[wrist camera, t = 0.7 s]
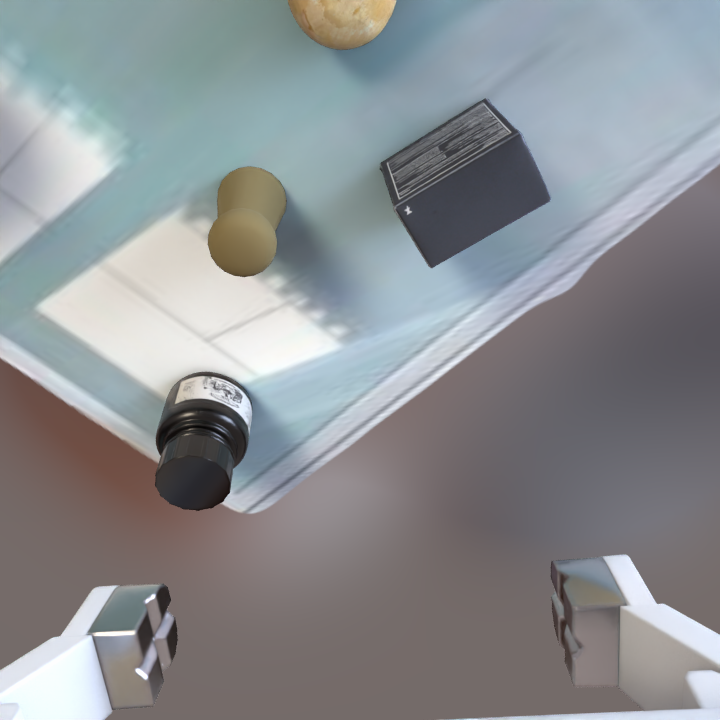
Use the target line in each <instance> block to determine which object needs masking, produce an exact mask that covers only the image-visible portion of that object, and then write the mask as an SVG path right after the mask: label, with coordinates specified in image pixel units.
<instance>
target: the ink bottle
mask: <svg viewBox="0 0 720 720" xmlns="http://www.w3.org/2000/svg"><path fill="white" fill-rule="evenodd" d="M251 419H252V402H251V399H250V397H249V395H248V393H247V392H246V390H245V389H244V388H243V387H242V386H241V385H240V384H238V383H237V382H236V381H234V380H233V379H231V378H229V377H227V376H224V375H221V374H218V373H213V372H198V373H194V374H191V375H188V376H186V377H184V378H182V379H181V380H180V381H178V382H177V383H176V384H175V385H174V386H173V387H172V389H171V390H170V392H169V394H168V397H167V400H166V403H165V406H164V409H163V413H162V416H161V419H160V422H159V425H158V429H157V433H156V446H157V449H158V452H159V454H160V456H161V457H160V461H159V464H158V468H157V471H156V475H155V476H156V482H155V486H156V487H157V489H158V491H159V493H160V496H161V497H163V498H164V499H165V500H167V501H168V502H169V503H170V504H172V505H175V506H177V507H180V508H182V509H189V510H197V511H199V510H203V509H208V508H213V507H214V506H216V505H218V504H219V503H222V502H223V501H224V499H225V498H226V497H227V495H228V494H229V493H230V488H231V481H232V475H233V469H234V468H235V467H236V466H237V465H238V464H239V463H240V462H241V461H242V459H243V458H244V456H245V453H246V451H247V447H248V440H249V435H250V427H251Z"/></svg>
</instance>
